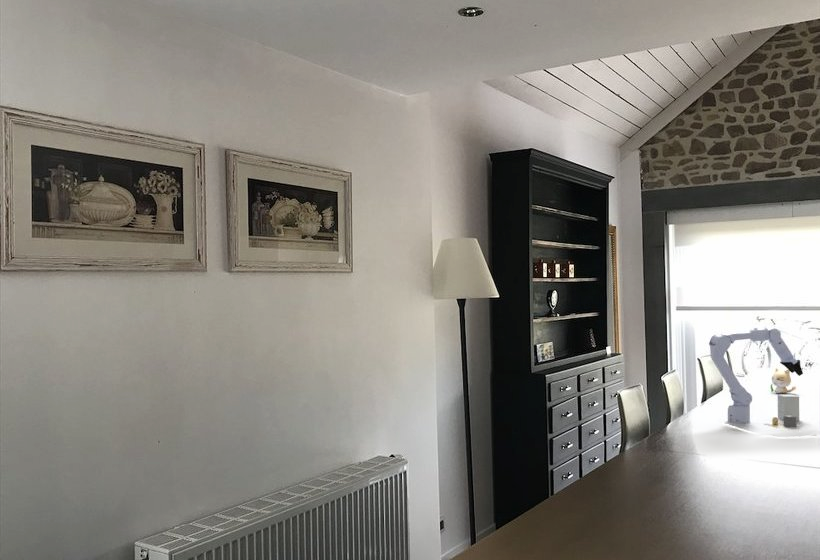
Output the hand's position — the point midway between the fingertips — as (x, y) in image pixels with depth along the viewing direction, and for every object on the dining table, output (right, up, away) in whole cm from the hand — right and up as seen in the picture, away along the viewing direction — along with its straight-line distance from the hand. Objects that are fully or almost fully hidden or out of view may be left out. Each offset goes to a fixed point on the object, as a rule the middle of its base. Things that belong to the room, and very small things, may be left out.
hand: (797, 373), depth 366 cm
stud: (-15, -23, -10) cm, 29 cm away
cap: (-10, -23, -14) cm, 28 cm away
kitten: (+38, -24, +94) cm, 104 cm away
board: (-13, -24, -12) cm, 30 cm away
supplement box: (-2, -24, +4) cm, 24 cm away
